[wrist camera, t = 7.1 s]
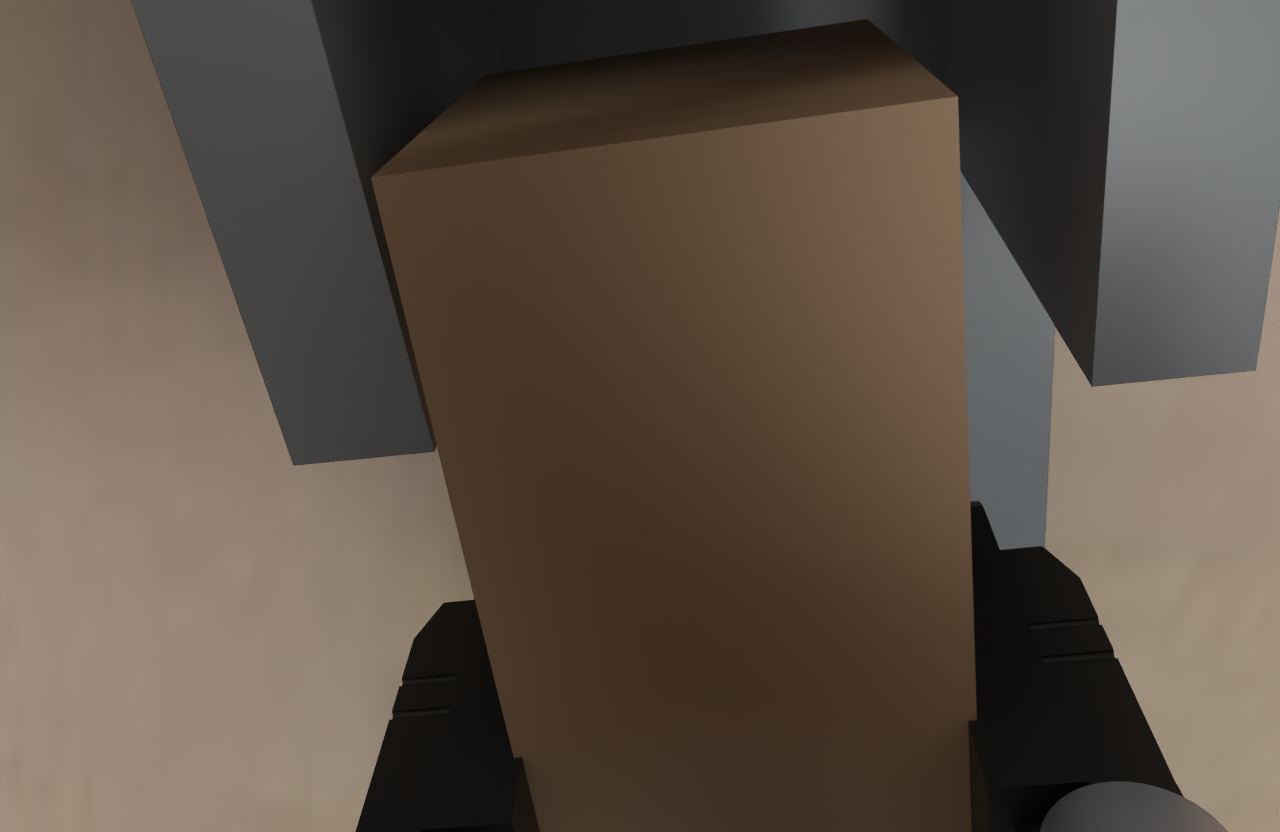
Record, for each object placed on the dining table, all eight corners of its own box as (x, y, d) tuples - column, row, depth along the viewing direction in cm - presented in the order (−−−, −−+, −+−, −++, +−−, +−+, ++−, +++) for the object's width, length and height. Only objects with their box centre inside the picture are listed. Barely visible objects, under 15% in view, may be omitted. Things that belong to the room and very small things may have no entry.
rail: (1054, -379, 12) (1422, -496, 6) (1011, 893, 23) (1129, 1326, 17) (334, -258, 13) (10, -252, 7) (612, 914, 24) (583, 1333, 17)
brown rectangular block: (868, 19, 10) (958, 97, 7) (921, 909, 15) (991, 1244, 11) (483, 74, 11) (371, 178, 7) (652, 927, 15) (636, 1257, 12)
